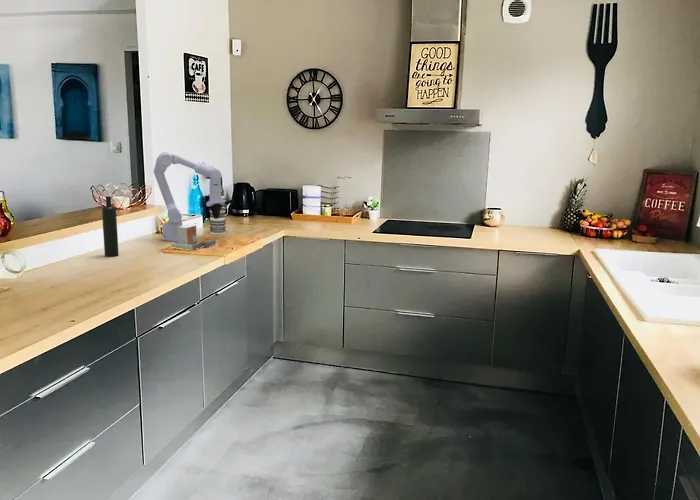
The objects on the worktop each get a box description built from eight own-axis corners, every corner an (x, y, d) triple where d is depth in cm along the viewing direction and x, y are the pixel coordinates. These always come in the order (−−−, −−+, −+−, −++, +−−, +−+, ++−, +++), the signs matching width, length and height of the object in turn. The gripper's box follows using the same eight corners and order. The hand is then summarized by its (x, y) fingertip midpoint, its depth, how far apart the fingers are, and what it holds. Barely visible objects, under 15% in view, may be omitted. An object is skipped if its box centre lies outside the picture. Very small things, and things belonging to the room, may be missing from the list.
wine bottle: (105, 257, 260) (101, 189, 254) (104, 254, 265) (99, 187, 259) (119, 256, 263) (115, 189, 257) (117, 253, 268) (113, 187, 262)
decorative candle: (222, 230, 329) (221, 186, 324) (229, 233, 322) (228, 187, 317) (206, 232, 324) (205, 186, 319) (212, 235, 317) (211, 188, 312)
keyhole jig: (166, 248, 282) (166, 243, 281) (187, 241, 297) (187, 237, 297) (196, 251, 277) (196, 246, 276) (215, 244, 292) (215, 239, 292)
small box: (187, 249, 280) (186, 227, 278) (177, 248, 282) (176, 226, 280) (197, 246, 287) (196, 225, 285) (187, 245, 289) (186, 224, 287)
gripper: (214, 194, 296) (215, 221, 299) (229, 191, 309) (230, 217, 312) (202, 193, 298) (203, 220, 301) (217, 190, 311) (218, 216, 314)
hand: (216, 218), depth 307 cm, fingers closed
